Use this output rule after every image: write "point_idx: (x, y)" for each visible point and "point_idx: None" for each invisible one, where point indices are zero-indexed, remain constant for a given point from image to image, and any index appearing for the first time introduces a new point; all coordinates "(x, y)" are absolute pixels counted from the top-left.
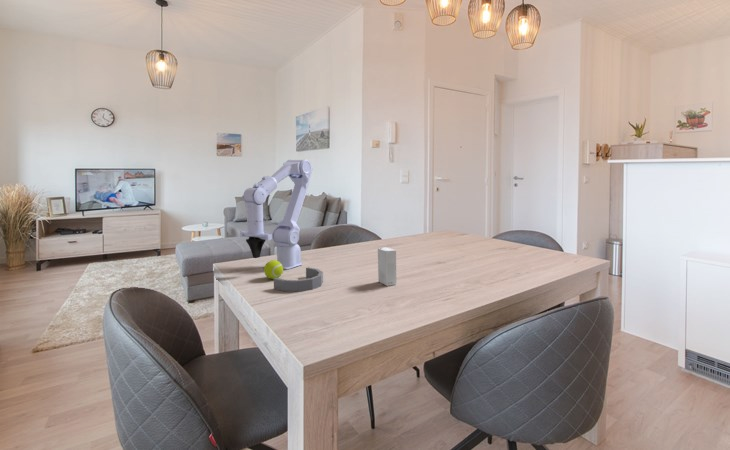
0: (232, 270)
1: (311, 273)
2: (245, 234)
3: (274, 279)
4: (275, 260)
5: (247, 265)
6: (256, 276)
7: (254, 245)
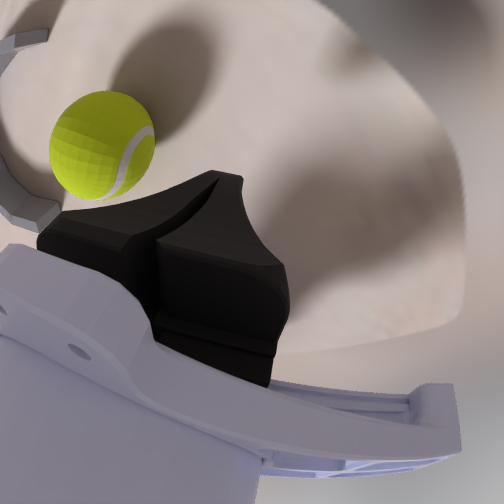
0: (439, 195)
1: (30, 207)
2: (303, 412)
3: (14, 34)
4: (66, 180)
5: (401, 284)
6: (236, 122)
7: (122, 206)
